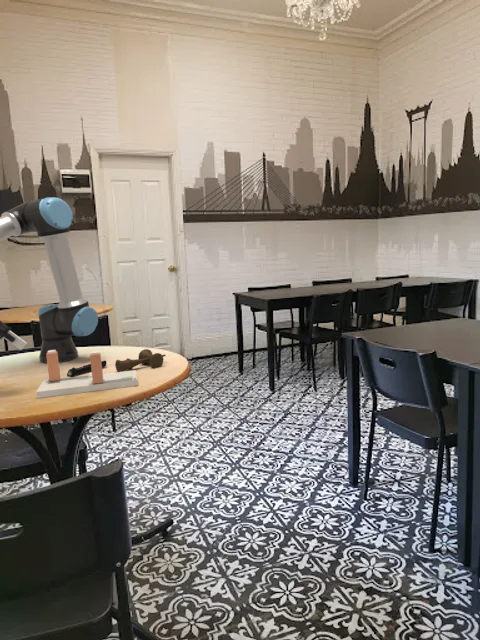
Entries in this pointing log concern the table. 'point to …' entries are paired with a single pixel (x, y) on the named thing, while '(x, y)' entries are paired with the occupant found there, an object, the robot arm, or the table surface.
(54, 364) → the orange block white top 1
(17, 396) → the table surface
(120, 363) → the kendama
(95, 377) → the orange rectangular block
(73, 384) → the white fixture board
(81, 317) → the robot arm
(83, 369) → the electric trimmer
